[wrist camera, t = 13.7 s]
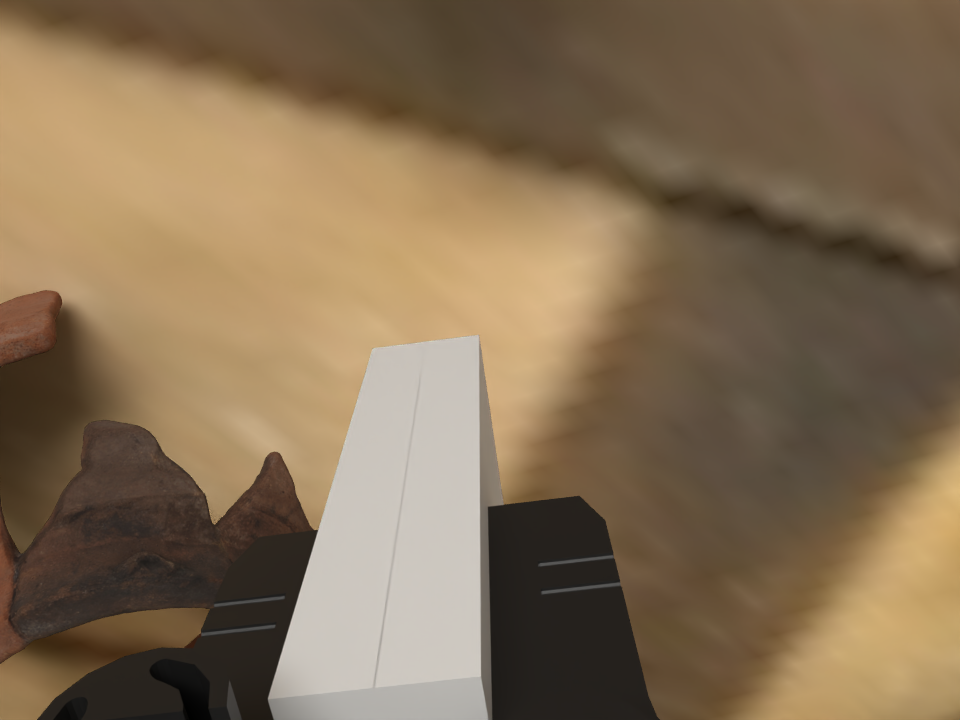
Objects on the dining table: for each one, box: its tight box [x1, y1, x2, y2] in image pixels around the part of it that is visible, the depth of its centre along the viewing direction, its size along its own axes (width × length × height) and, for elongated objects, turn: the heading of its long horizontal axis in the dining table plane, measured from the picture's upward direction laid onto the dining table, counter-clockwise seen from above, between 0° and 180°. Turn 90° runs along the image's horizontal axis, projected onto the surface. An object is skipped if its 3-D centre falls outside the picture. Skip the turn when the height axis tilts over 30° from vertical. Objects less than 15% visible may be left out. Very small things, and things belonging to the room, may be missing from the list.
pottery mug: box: [0, 290, 313, 664], centre depth 18 cm, size 12×9×8 cm
